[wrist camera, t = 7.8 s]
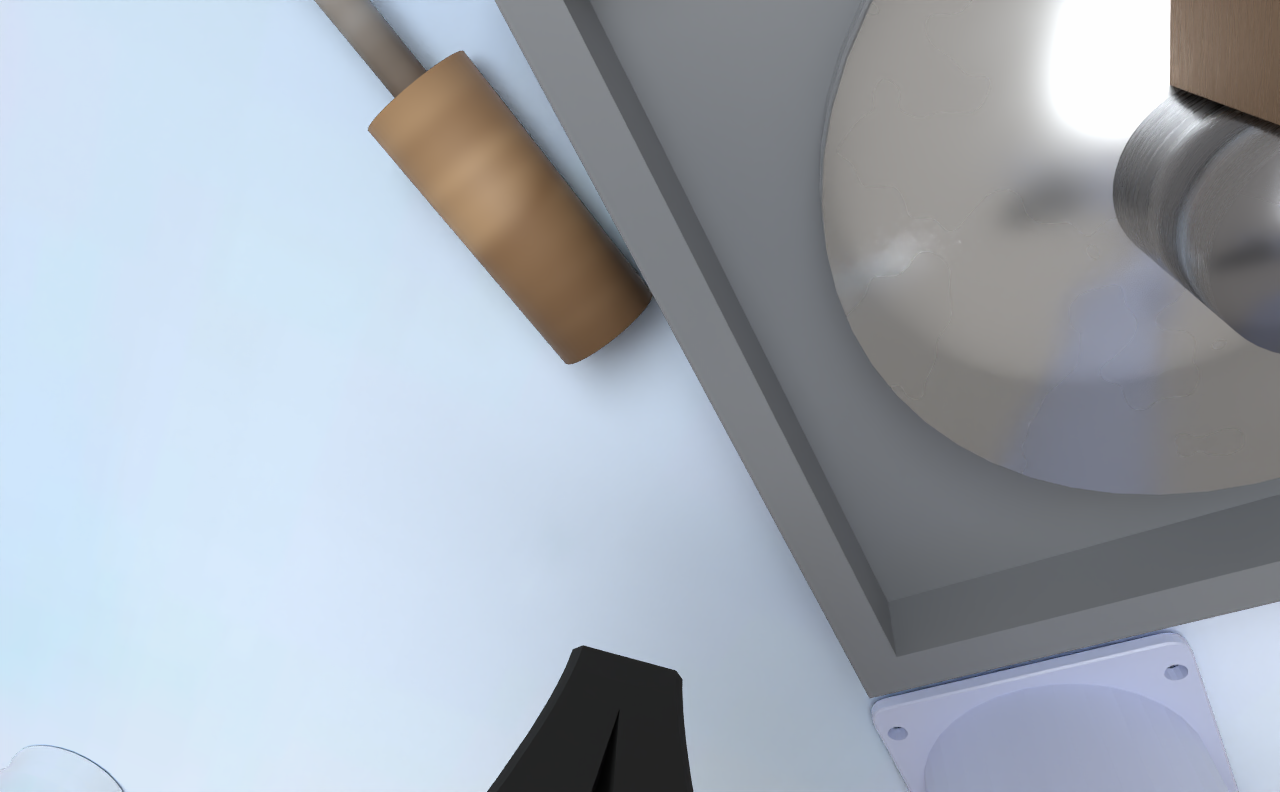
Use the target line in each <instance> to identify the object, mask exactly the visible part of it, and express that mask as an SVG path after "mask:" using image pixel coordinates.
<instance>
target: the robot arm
mask: <svg viewBox="0 0 1280 792" xmlns="http://www.w3.org/2000/svg"><path fill="white" fill-rule="evenodd" d="M1172 665H1178V666H1176V667H1174V668H1168V667H1170V666H1172ZM871 713H872V720H873V724H874V726H875V728H876V730H877V732H878V733H879V735H880V737H881V739H882V741H883V743H884V744H885V746H886V748H887V750H888V752H889V754H890V755H891V757H892V759H893V761H894V763H895V765H896V766H897V768H898V770H899V772H900V774H901V776H902V778H903V779H904V781H905V783H906V785H907V787H908V789H909V790H910V792H1239V791H1238V788H1237V785H1236V782H1235V779H1234V776H1233V773H1232V770H1231V767H1230V764H1229V761H1228V757H1227V754H1226V751H1225V748H1224V745H1223V742H1222V739H1221V736H1220V733H1219V730H1218V727H1217V724H1216V721H1215V718H1214V715H1213V712H1212V709H1211V705H1210V702H1209V699H1208V696H1207V693H1206V690H1205V687H1204V684H1203V681H1202V678H1201V675H1200V672H1199V669H1198V666H1197V663H1196V660H1195V657H1194V653H1193V651H1192V649H1191V648H1190V646H1189V644H1188V642H1187V641H1186V640H1185V638H1184V637H1182V636H1180V635H1179V634H1174V633H1161V634H1156V635H1152V636H1148V637H1144V638H1139V639H1135V640H1131V641H1127V642H1122V643H1118V644H1114V645H1110V646H1105V647H1101V648H1097V649H1093V650H1088V651H1084V652H1080V653H1076V654H1071V655H1067V656H1063V657H1059V658H1054V659H1050V660H1046V661H1042V662H1037V663H1033V664H1029V665H1025V666H1020V667H1016V668H1012V669H1008V670H1003V671H999V672H995V673H991V674H986V675H982V676H978V677H974V678H969V679H965V680H961V681H957V682H952V683H948V684H944V685H940V686H935V687H931V688H927V689H923V690H918V691H914V692H910V693H906V694H901V695H897V696H893V697H889V698H884V699H882V700H879V701H877V702H876V703H875V704H874V705H873V706H872V709H871ZM893 727H901V728H898V729H894V728H893ZM487 792H693V787H692V781H691V774H690V767H689V760H688V753H687V745H686V736H685V727H684V715H683V698H682V678H681V677H680V675H679V674H678V672H677V671H675V670H672V669H668V668H664V667H661V666H657V665H653V664H650V663H646V662H642V661H639V660H635V659H631V658H628V657H624V656H620V655H616V654H613V653H609V652H605V651H602V650H598V649H594V648H591V647H587V646H580V647H578V648H575V649H573V650H572V653H571V655H570V658H569V660H568V663H567V665H566V668H565V670H564V672H563V674H562V676H561V678H560V680H559V682H558V684H557V686H556V688H555V689H554V691H553V693H552V695H551V697H550V698H549V700H548V702H547V704H546V705H545V707H544V708H543V710H542V712H541V713H540V715H539V717H538V718H537V720H536V721H535V723H534V725H533V726H532V728H531V730H530V731H529V733H528V734H527V736H526V737H525V739H524V740H523V741H522V743H521V744H520V746H519V747H518V749H517V750H516V752H515V753H514V754H513V756H512V757H511V759H510V760H509V762H508V763H507V765H506V766H505V767H504V769H503V770H502V772H501V773H500V775H499V776H498V778H497V779H496V780H495V782H494V783H493V784H492V786H491V787H490V789H489V790H488V791H487Z"/></svg>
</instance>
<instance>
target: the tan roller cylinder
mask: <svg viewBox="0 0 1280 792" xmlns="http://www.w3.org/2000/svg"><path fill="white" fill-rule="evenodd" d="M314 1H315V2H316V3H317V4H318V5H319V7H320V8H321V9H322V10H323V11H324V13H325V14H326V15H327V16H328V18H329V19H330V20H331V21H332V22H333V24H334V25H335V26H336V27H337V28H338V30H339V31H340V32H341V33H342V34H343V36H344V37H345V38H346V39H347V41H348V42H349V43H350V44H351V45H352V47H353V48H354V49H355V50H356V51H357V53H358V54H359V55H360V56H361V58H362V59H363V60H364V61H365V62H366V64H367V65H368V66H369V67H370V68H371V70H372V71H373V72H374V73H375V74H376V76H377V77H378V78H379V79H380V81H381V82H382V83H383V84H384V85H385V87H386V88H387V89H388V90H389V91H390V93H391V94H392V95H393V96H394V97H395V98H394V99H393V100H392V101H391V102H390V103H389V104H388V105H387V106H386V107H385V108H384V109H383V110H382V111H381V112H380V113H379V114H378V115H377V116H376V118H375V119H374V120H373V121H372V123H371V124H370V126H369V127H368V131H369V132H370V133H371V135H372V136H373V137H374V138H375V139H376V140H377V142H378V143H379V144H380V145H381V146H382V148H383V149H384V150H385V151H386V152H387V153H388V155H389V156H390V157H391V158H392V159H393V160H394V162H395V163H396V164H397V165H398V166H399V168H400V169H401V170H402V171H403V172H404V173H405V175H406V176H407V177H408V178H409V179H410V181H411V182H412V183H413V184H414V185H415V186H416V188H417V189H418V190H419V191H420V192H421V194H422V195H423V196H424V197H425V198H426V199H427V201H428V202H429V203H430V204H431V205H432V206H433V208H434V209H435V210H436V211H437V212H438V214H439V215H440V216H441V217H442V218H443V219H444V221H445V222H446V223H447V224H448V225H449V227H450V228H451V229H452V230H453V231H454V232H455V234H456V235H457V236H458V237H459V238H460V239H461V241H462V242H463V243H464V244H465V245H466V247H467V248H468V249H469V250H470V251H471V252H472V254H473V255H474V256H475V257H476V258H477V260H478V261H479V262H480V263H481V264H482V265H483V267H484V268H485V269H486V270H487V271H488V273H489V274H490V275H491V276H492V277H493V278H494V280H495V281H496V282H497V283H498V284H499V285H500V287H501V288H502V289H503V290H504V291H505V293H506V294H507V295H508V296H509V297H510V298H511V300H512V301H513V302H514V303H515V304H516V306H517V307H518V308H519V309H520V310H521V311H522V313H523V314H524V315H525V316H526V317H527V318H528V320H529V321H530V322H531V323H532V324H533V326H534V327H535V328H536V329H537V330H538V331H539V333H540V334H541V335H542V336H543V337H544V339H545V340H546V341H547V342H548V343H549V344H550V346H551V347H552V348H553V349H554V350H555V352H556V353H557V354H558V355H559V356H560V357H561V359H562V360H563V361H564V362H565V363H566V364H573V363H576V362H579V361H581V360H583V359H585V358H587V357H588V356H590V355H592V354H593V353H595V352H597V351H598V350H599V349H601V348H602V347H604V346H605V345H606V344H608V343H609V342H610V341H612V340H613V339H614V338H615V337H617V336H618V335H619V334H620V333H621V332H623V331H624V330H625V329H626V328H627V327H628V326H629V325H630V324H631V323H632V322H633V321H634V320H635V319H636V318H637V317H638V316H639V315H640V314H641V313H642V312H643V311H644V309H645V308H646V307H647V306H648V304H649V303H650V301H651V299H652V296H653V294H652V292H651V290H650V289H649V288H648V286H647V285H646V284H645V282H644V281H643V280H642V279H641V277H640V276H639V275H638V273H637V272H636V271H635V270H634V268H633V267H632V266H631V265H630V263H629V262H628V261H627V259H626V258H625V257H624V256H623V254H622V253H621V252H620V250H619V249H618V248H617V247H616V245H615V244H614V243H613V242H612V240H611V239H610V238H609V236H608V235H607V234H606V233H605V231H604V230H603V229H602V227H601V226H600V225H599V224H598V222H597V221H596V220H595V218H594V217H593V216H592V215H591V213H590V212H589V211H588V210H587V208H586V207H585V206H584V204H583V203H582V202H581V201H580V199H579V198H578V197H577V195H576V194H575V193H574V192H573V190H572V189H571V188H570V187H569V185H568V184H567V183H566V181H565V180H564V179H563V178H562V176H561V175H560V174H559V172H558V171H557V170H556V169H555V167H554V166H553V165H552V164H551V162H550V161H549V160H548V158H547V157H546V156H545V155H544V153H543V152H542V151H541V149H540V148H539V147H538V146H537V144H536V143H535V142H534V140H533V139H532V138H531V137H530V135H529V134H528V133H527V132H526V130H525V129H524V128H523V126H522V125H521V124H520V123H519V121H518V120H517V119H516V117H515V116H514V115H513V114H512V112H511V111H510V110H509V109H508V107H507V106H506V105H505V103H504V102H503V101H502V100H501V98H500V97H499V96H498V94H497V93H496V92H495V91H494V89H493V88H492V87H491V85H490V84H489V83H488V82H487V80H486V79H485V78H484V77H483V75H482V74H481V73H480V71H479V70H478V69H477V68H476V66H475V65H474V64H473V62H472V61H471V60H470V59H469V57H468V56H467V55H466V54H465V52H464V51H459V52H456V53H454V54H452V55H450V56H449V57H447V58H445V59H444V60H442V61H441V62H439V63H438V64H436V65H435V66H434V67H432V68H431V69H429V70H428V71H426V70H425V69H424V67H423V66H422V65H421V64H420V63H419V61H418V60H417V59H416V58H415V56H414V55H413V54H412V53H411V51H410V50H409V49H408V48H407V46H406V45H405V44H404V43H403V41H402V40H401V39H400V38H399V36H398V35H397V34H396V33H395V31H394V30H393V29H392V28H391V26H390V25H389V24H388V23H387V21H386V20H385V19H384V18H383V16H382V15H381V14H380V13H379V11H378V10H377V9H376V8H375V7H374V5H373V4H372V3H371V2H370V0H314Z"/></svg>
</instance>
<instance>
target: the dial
mask: <svg viewBox="0 0 1280 792" xmlns="http://www.w3.org/2000/svg"><path fill="white" fill-rule="evenodd" d="M819 190H820V200H821V210H822V220H823V228H824V236H825V243H826V250H827V255H828V259H829V263H830V267H831V271H832V275H833V279H834V283H835V287H836V292H837V294H838V297H839V299H840V302H841V304H842V307H843V309H844V312H845V314H846V317H847V319H848V322H849V324H850V326H851V329H852V331H853V333H854V335H855V336H856V338H857V340H858V341H859V343H860V345H861V346H862V348H863V350H864V352H865V353H866V355H867V357H868V358H869V360H870V362H871V363H872V365H873V366H874V368H875V369H876V370H877V371H878V373H879V374H880V375H881V376H882V378H883V379H884V380H885V381H886V382H887V384H888V385H889V386H890V387H891V389H892V390H893V391H894V392H895V394H896V395H897V396H898V397H899V398H900V399H901V400H902V401H903V402H905V403H906V404H907V405H908V406H909V407H910V408H911V409H912V410H913V411H914V412H915V413H916V414H917V415H918V416H919V417H921V418H922V419H923V420H924V421H925V422H926V423H928V424H929V425H930V426H932V427H933V428H935V429H936V430H937V431H939V432H940V433H942V434H943V435H945V436H946V437H947V438H949V439H950V440H952V441H953V442H954V443H956V444H957V445H959V446H961V447H963V448H965V449H967V450H969V451H971V452H973V453H974V454H976V455H978V456H980V457H982V458H984V459H986V460H988V461H990V462H992V463H994V464H997V465H999V466H1002V467H1004V468H1007V469H1010V470H1012V471H1015V472H1018V473H1020V474H1023V475H1026V476H1028V477H1031V478H1035V479H1039V480H1043V481H1047V482H1051V483H1055V484H1059V485H1063V486H1067V487H1071V488H1079V489H1086V490H1094V491H1101V492H1109V493H1119V494H1153V495H1163V494H1178V493H1193V492H1207V491H1213V490H1219V489H1225V488H1232V487H1238V486H1244V485H1250V484H1256V483H1260V482H1264V481H1267V480H1271V479H1275V478H1279V477H1280V0H862V1H861V4H860V6H859V8H858V11H857V13H856V15H855V18H854V20H853V22H852V25H851V27H850V29H849V32H848V34H847V36H846V39H845V41H844V43H843V46H842V48H841V51H840V55H839V58H838V62H837V65H836V68H835V72H834V75H833V79H832V82H831V85H830V89H829V92H828V96H827V102H826V109H825V115H824V121H823V127H822V133H821V139H820V165H819Z"/></svg>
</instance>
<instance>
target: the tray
mask: <svg viewBox="0 0 1280 792" xmlns="http://www.w3.org/2000/svg"><path fill="white" fill-rule="evenodd" d="M861 1H862V0H495V2H496V4H497V6H498V7H499V9H500V11H501V13H502V15H503V17H504V19H505V21H506V22H507V24H508V26H509V28H510V30H511V32H512V34H513V35H514V37H515V39H516V41H517V43H518V45H519V47H520V48H521V50H522V52H523V54H524V56H525V58H526V60H527V61H528V63H529V65H530V67H531V69H532V71H533V73H534V75H535V76H536V78H537V80H538V82H539V84H540V86H541V88H542V89H543V91H544V93H545V95H546V97H547V99H548V101H549V102H550V104H551V106H552V108H553V110H554V112H555V114H556V115H557V117H558V119H559V121H560V123H561V125H562V127H563V128H564V130H565V132H566V134H567V136H568V138H569V140H570V142H571V143H572V145H573V147H574V149H575V151H576V153H577V155H578V156H579V158H580V160H581V162H582V164H583V166H584V168H585V169H586V171H587V173H588V175H589V177H590V179H591V181H592V182H593V184H594V186H595V188H596V190H597V192H598V194H599V196H600V197H601V199H602V201H603V203H604V205H605V207H606V209H607V210H608V212H609V214H610V216H611V218H612V220H613V222H614V223H615V225H616V227H617V229H618V231H619V233H620V235H621V236H622V238H623V240H624V242H625V244H626V246H627V248H628V249H629V251H630V253H631V255H632V257H633V259H634V261H635V263H636V264H637V266H638V268H639V270H640V272H641V274H642V276H643V277H644V279H645V281H646V283H647V285H648V287H649V289H650V290H651V292H652V294H653V296H654V298H655V300H656V302H657V303H658V305H659V307H660V309H661V311H662V313H663V315H664V316H665V318H666V320H667V322H668V324H669V326H670V328H671V330H672V331H673V333H674V335H675V337H676V339H677V341H678V343H679V344H680V346H681V348H682V350H683V352H684V354H685V356H686V357H687V359H688V361H689V363H690V365H691V367H692V369H693V370H694V372H695V374H696V376H697V378H698V380H699V382H700V384H701V385H702V387H703V389H704V391H705V393H706V395H707V397H708V398H709V400H710V402H711V404H712V406H713V408H714V410H715V411H716V413H717V415H718V417H719V419H720V421H721V423H722V424H723V426H724V428H725V430H726V432H727V434H728V436H729V437H730V439H731V441H732V443H733V445H734V447H735V449H736V451H737V452H738V454H739V456H740V458H741V460H742V462H743V464H744V465H745V467H746V469H747V471H748V473H749V475H750V477H751V478H752V480H753V482H754V484H755V486H756V488H757V490H758V491H759V493H760V495H761V497H762V499H763V501H764V503H765V505H766V506H767V508H768V510H769V512H770V514H771V516H772V518H773V519H774V521H775V523H776V525H777V527H778V529H779V531H780V532H781V534H782V536H783V538H784V540H785V542H786V544H787V545H788V547H789V549H790V551H791V553H792V555H793V557H794V558H795V560H796V562H797V564H798V566H799V568H800V570H801V572H802V573H803V575H804V577H805V579H806V581H807V583H808V585H809V586H810V588H811V590H812V592H813V594H814V596H815V598H816V599H817V601H818V603H819V605H820V607H821V609H822V611H823V612H824V614H825V616H826V618H827V620H828V622H829V624H830V625H831V627H832V629H833V631H834V633H835V635H836V637H837V639H838V640H839V642H840V644H841V646H842V648H843V650H844V652H845V653H846V655H847V657H848V659H849V661H850V663H851V665H852V666H853V668H854V670H855V672H856V674H857V676H858V678H859V679H860V681H861V683H862V685H863V687H864V689H865V691H866V693H867V694H868V696H869V698H873V697H877V696H882V695H886V694H890V693H894V692H899V691H903V690H907V689H911V688H915V687H920V686H924V685H928V684H932V683H937V682H941V681H945V680H949V679H953V678H958V677H962V676H966V675H970V674H975V673H979V672H983V671H987V670H991V669H996V668H1000V667H1004V666H1008V665H1013V664H1017V663H1021V662H1025V661H1030V660H1034V659H1038V658H1042V657H1046V656H1051V655H1055V654H1059V653H1063V652H1068V651H1072V650H1076V649H1080V648H1084V647H1089V646H1093V645H1097V644H1101V643H1106V642H1110V641H1114V640H1118V639H1122V638H1127V637H1131V636H1135V635H1139V634H1144V633H1148V632H1152V631H1156V630H1160V629H1165V628H1169V627H1173V626H1177V625H1182V624H1186V623H1190V622H1194V621H1199V620H1203V619H1207V618H1211V617H1215V616H1220V615H1224V614H1228V613H1232V612H1237V611H1241V610H1245V609H1249V608H1253V607H1258V606H1262V605H1266V604H1270V603H1275V602H1279V601H1280V477H1279V478H1275V479H1271V480H1267V481H1264V482H1260V483H1256V484H1250V485H1244V486H1238V487H1232V488H1225V489H1219V490H1213V491H1207V492H1193V493H1178V494H1163V495H1153V494H1119V493H1109V492H1101V491H1094V490H1086V489H1079V488H1071V487H1067V486H1063V485H1059V484H1055V483H1051V482H1047V481H1043V480H1039V479H1035V478H1031V477H1028V476H1026V475H1023V474H1020V473H1018V472H1015V471H1012V470H1010V469H1007V468H1004V467H1002V466H999V465H997V464H994V463H992V462H990V461H988V460H986V459H984V458H982V457H980V456H978V455H976V454H974V453H973V452H971V451H969V450H967V449H965V448H963V447H961V446H959V445H957V444H956V443H954V442H953V441H952V440H950V439H949V438H947V437H946V436H945V435H943V434H942V433H940V432H939V431H937V430H936V429H935V428H933V427H932V426H930V425H929V424H928V423H926V422H925V421H924V420H923V419H922V418H921V417H919V416H918V415H917V414H916V413H915V412H914V411H913V410H912V409H911V408H910V407H909V406H908V405H907V404H906V403H905V402H903V401H902V400H901V399H900V398H899V397H898V396H897V395H896V394H895V392H894V391H893V390H892V389H891V387H890V386H889V385H888V384H887V382H886V381H885V380H884V379H883V378H882V376H881V375H880V374H879V373H878V371H877V370H876V369H875V368H874V366H873V365H872V363H871V362H870V360H869V358H868V357H867V355H866V353H865V352H864V350H863V348H862V346H861V345H860V343H859V341H858V340H857V338H856V336H855V335H854V333H853V331H852V329H851V326H850V324H849V322H848V319H847V317H846V314H845V312H844V309H843V307H842V304H841V302H840V299H839V297H838V294H837V292H836V287H835V283H834V279H833V275H832V271H831V267H830V263H829V259H828V255H827V250H826V243H825V236H824V228H823V220H822V210H821V200H820V190H819V165H820V139H821V133H822V127H823V121H824V115H825V109H826V102H827V96H828V92H829V89H830V85H831V82H832V79H833V75H834V72H835V68H836V65H837V62H838V58H839V55H840V51H841V48H842V46H843V43H844V41H845V39H846V36H847V34H848V32H849V29H850V27H851V25H852V22H853V20H854V18H855V15H856V13H857V11H858V8H859V6H860V4H861Z"/></svg>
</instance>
